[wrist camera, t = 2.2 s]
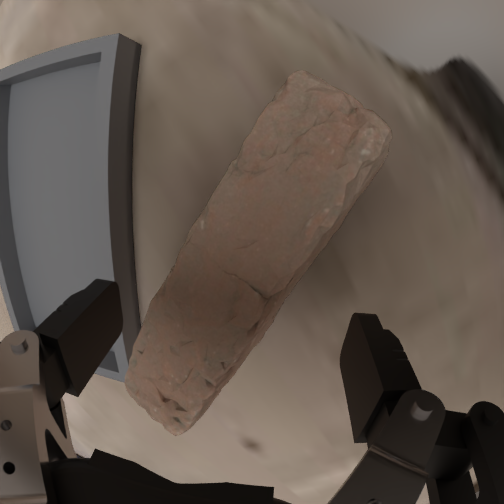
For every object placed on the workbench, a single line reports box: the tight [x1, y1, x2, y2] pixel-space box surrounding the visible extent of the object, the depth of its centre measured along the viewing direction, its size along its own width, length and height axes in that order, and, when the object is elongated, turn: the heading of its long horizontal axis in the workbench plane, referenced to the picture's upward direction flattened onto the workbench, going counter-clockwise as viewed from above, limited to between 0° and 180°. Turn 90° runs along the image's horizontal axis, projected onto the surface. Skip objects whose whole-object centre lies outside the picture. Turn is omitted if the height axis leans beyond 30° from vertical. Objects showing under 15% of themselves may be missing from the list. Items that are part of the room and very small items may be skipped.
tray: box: [0, 33, 141, 382], centre depth 18 cm, size 13×24×3 cm, turn 175°
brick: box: [124, 70, 392, 436], centre depth 15 cm, size 16×8×5 cm
